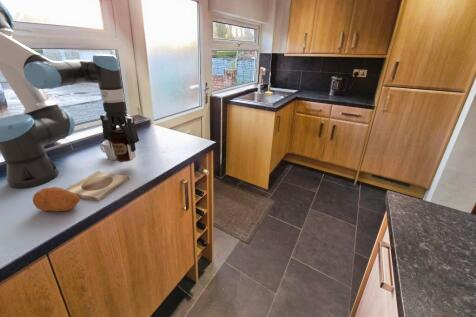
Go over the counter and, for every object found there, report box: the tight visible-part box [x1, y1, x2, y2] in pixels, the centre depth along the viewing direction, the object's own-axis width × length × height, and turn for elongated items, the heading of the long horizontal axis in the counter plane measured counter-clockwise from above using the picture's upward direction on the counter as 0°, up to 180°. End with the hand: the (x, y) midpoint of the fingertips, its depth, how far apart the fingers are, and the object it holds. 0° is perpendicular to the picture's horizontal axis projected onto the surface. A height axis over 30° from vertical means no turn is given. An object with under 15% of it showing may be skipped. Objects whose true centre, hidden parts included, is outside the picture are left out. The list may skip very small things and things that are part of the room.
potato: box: [32, 186, 81, 212], centre depth 71 cm, size 7×13×7 cm, turn 80°
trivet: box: [65, 170, 131, 202], centre depth 85 cm, size 15×15×1 cm
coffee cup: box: [109, 126, 134, 163], centre depth 93 cm, size 9×8×13 cm
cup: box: [99, 139, 117, 161], centre depth 106 cm, size 11×8×8 cm
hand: (124, 156), depth 96 cm, fingers closed on coffee cup, 7 cm apart
